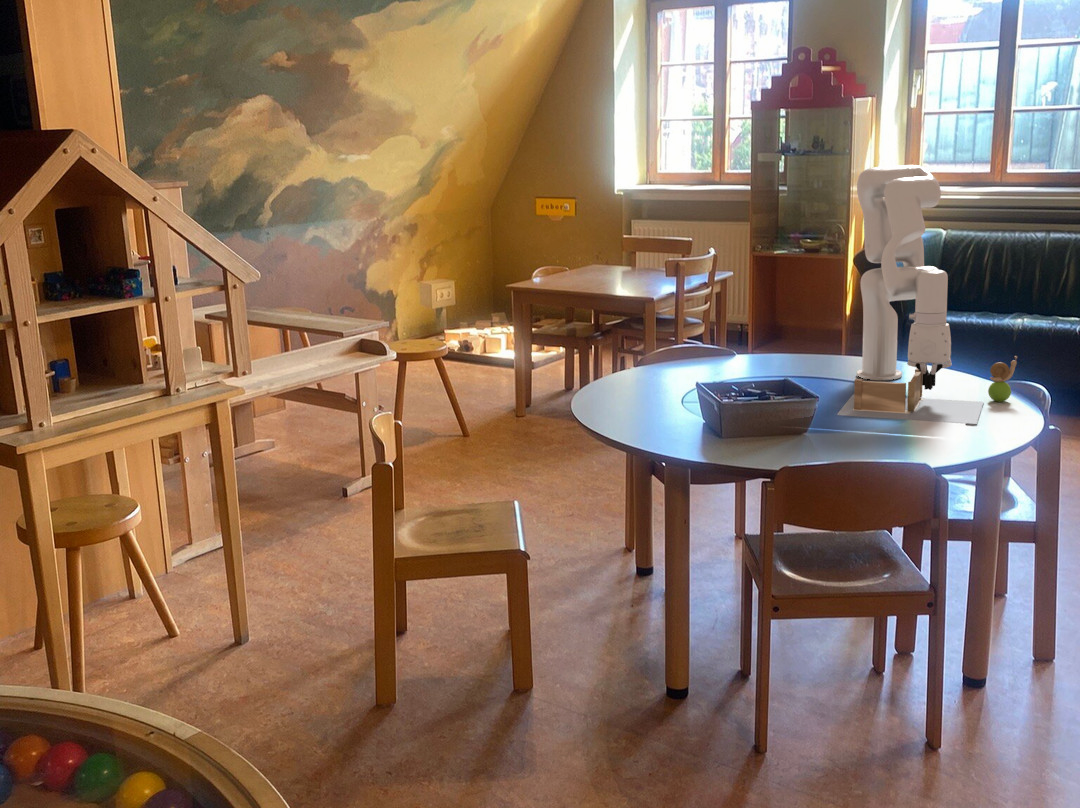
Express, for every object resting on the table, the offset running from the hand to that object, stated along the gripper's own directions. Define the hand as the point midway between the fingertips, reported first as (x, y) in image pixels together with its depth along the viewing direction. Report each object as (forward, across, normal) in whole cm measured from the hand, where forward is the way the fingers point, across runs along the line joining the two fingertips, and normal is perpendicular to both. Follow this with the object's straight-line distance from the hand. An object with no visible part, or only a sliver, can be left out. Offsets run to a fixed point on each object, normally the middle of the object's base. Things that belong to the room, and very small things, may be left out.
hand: (928, 388), depth 267 cm
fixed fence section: (+4, -10, -11) cm, 15 cm away
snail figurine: (+5, +17, +8) cm, 19 cm away
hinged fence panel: (+4, -3, -3) cm, 5 cm away
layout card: (+4, -3, -6) cm, 8 cm away
